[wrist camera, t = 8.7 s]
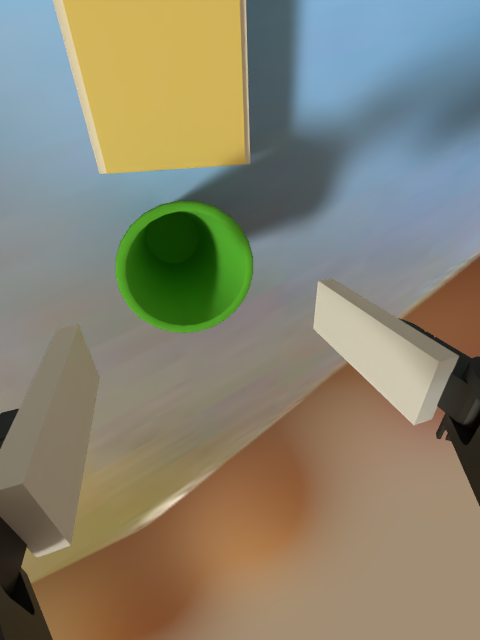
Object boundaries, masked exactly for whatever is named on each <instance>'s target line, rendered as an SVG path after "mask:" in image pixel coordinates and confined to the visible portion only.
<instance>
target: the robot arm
mask: <svg viewBox="0 0 480 640" xmlns="http://www.w3.org/2000/svg"><path fill="white" fill-rule="evenodd" d="M313 329H314V330H315V331H316V332H317V333H319V334H320V335H321V336H322V337H323V338H324V339H325V340H326V341H327V342H328V343H329V344H330V345H331V346H332V347H333V348H334V349H335V350H336V351H337V352H338V353H339V354H340V355H341V356H342V357H343V358H345V359H346V360H347V361H348V362H349V363H350V364H351V365H352V366H353V367H354V368H355V369H356V370H357V371H358V372H359V373H360V374H361V375H363V377H364V378H365V379H366V380H367V381H368V382H370V383H371V384H372V385H373V386H374V387H375V388H376V389H377V390H378V391H379V392H380V393H381V394H382V395H383V396H384V397H385V398H386V399H387V400H388V401H389V402H390V403H392V405H393V406H394V407H396V408H397V409H398V410H399V411H400V412H401V413H402V414H403V415H404V416H405V417H406V418H407V419H408V420H409V421H410V422H411V423H412V424H413V425H416V424H419V423H422V422H425V421H428V420H431V419H432V417H433V415H434V413H435V411H436V408H437V406H438V407H439V408H441V409H442V410H443V411H444V412H445V415H444V417H443V419H442V422H441V424H440V426H439V428H438V430H437V432H436V436H437V439H441V437H442V435H443V433H444V431H445V430H447V432H448V434H447V436H446V440H449V441H452V444H453V446H454V448H455V450H456V453H457V455H458V458H459V460H460V462H461V464H462V467H463V469H464V471H465V474H466V476H467V478H468V480H469V483H470V485H471V487H472V490H473V492H474V494H475V496H476V499H477V501H478V503H479V506H480V357H474V358H470V357H468V356H467V355H465V354H463V353H462V352H460V351H458V350H457V349H455V348H453V347H452V346H450V345H448V344H447V343H445V342H443V341H442V340H440V339H438V338H437V337H435V338H434V336H433V335H431V334H430V333H428V332H425V331H424V330H423V329H421V328H420V327H418V326H416V325H415V324H413V323H410V322H408V321H405V320H402V319H399V318H396V317H395V316H393V315H391V314H390V313H388V312H386V311H385V310H383V309H381V308H380V307H378V306H377V305H375V304H373V303H372V302H370V301H368V300H367V299H365V298H363V297H362V296H360V295H359V294H357V293H355V292H354V291H352V290H350V289H349V288H347V287H345V286H344V285H342V284H341V283H339V282H337V281H336V280H334V279H332V278H330V279H325V280H319V281H318V287H317V297H316V307H315V317H314V327H313ZM99 378H100V376H99V374H98V371H97V369H96V366H95V364H94V361H93V359H92V356H91V354H90V351H89V349H88V346H87V344H86V341H85V339H84V336H83V334H82V331H81V329H80V326H79V324H76V325H71V326H65V327H60V328H57V330H56V332H55V334H54V336H53V338H52V340H51V343H50V345H49V347H48V349H47V351H46V353H45V355H44V357H43V360H42V362H41V364H40V366H39V368H38V370H37V372H36V374H35V377H34V379H33V381H32V383H31V385H30V387H29V389H28V391H27V393H26V396H25V398H24V400H23V402H22V404H21V406H20V408H19V409H15V410H11V411H7V412H3V413H1V414H0V640H53V639H52V637H51V634H50V631H49V629H48V626H47V624H46V621H45V619H44V616H43V614H42V611H41V609H40V606H39V603H38V601H37V598H36V596H35V594H34V591H33V588H32V586H31V583H30V581H29V578H28V576H27V574H26V572H25V571H24V570H23V569H22V568H21V565H22V562H23V558H24V554H25V551H26V547H27V548H28V549H29V550H30V551H31V552H32V553H33V554H34V555H35V556H36V557H39V556H42V555H45V554H48V553H51V552H54V551H57V550H59V549H62V548H65V547H68V546H71V541H72V535H73V530H74V524H75V518H76V512H77V506H78V500H79V495H80V489H81V483H82V477H83V471H84V465H85V459H86V454H87V448H88V442H89V436H90V430H91V424H92V419H93V413H94V407H95V401H96V395H97V389H98V384H99Z"/></svg>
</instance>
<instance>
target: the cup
mask: <svg viewBox="0 0 480 640" xmlns="http://www.w3.org/2000/svg"><path fill="white" fill-rule="evenodd" d="M252 275H253V256H252V252H251V248H250V244H249V241H248V239H247V238H246V236H245V234H244V232H243V230H242V229H241V227H240V226H239V225H238V224H237V223H236V222H235V221H234V220H233V219H232V218H231V217H230V216H229V215H227V214H226V213H224V212H223V211H221V210H219V209H218V208H216V207H214V206H211V205H208V204H204V203H201V202H198V201H175V202H171V203H166V204H162V205H159V206H157V207H155V208H153V209H151V210H149V211H148V212H146V213H144V214H143V215H142V216H141V217H139V218H138V219H137V220H136V221H135V222H134V223H133V224H132V225H131V226H130V227H129V229H128V230H127V232H126V234H125V235H124V237H123V239H122V240H121V242H120V245H119V249H118V253H117V256H116V279H117V282H118V286H119V289H120V293H121V294H122V296H123V298H124V299H125V301H126V303H127V304H128V306H129V307H130V308H131V309H132V310H133V311H134V312H135V313H136V314H137V315H138V316H139V317H140V318H141V319H143V320H145V321H146V322H148V323H149V324H151V325H153V326H155V327H158V328H161V329H164V330H167V331H172V332H181V333H186V332H197V331H201V330H204V329H207V328H211V327H213V326H215V325H217V324H218V323H220V322H222V321H224V320H225V319H226V318H227V317H229V316H230V315H231V314H232V313H233V312H235V310H236V309H237V308H238V307H239V305H240V304H241V303H242V301H243V300H244V298H245V296H246V294H247V292H248V290H249V287H250V284H251V279H252Z"/></svg>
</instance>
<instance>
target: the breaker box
mask: <svg viewBox="0 0 480 640" xmlns="http://www.w3.org/2000/svg"><path fill="white" fill-rule="evenodd" d="M53 2H54V6H55V9H56V13H57V17H58V21H59V24H60V28H61V32H62V36H63V39H64V43H65V47H66V50H67V54H68V58H69V62H70V65H71V69H72V73H73V77H74V80H75V84H76V88H77V92H78V95H79V99H80V103H81V106H82V110H83V114H84V118H85V121H86V125H87V129H88V133H89V136H90V140H91V144H92V147H93V151H94V155H95V159H96V162H97V166H98V170H99V174H105V173H122V172H137V171H152V170H167V169H182V168H197V167H213V166H228V165H243V164H250V138H249V100H248V62H247V24H246V0H53Z"/></svg>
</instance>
